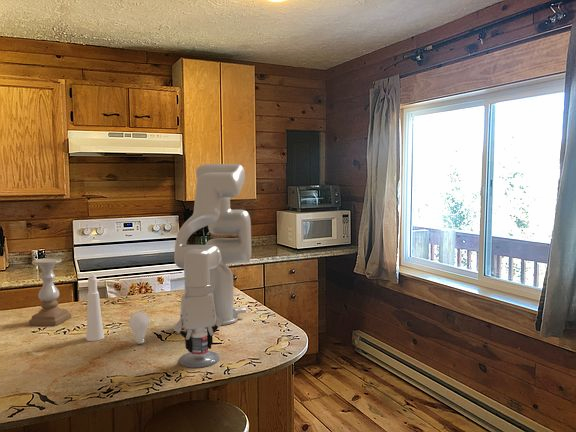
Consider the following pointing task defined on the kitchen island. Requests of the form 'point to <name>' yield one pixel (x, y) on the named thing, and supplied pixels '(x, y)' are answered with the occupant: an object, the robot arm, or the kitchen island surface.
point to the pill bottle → (199, 342)
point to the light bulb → (139, 325)
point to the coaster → (199, 360)
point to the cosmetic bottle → (93, 312)
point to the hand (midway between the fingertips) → (199, 348)
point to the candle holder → (48, 297)
